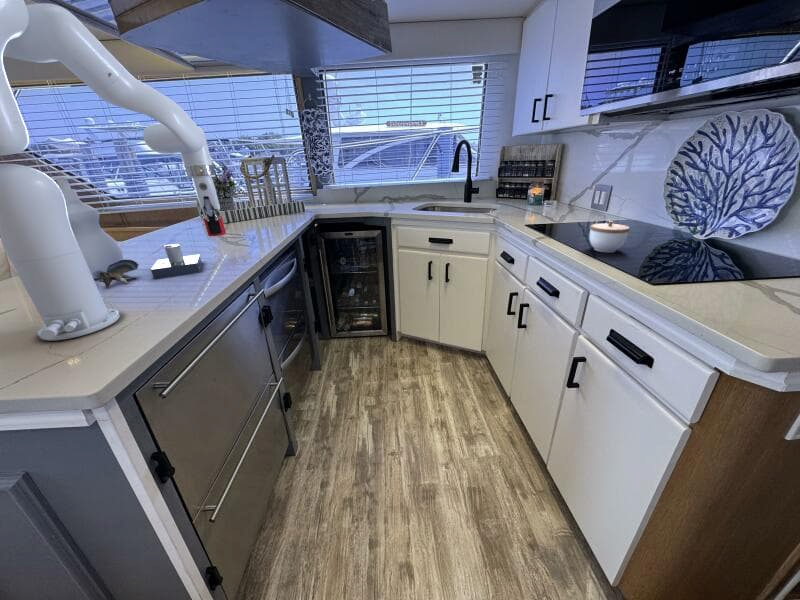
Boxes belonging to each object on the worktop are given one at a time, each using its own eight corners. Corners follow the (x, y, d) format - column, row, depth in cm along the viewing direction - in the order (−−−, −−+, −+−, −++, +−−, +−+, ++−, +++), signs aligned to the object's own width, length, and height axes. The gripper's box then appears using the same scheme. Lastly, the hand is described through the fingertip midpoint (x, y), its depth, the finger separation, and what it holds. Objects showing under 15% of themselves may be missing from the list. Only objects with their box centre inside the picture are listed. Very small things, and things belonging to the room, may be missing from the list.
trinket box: (631, 253, 100) (639, 223, 97) (596, 254, 101) (603, 224, 97) (611, 245, 110) (618, 217, 106) (580, 246, 111) (585, 219, 107)
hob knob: (184, 258, 104) (179, 242, 102) (183, 261, 101) (177, 245, 99) (170, 260, 103) (165, 244, 101) (168, 263, 99) (162, 247, 97)
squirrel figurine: (123, 284, 89) (146, 268, 96) (97, 265, 86) (124, 250, 93) (110, 297, 91) (134, 281, 99) (85, 279, 88) (112, 263, 96)
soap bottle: (99, 283, 94) (53, 176, 83) (59, 285, 94) (6, 178, 82) (139, 266, 110) (104, 174, 98) (104, 267, 109) (65, 175, 98)
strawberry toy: (226, 234, 103) (221, 215, 101) (207, 237, 101) (202, 217, 99) (226, 232, 108) (221, 213, 105) (208, 234, 106) (203, 215, 103)
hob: (199, 272, 100) (196, 262, 99) (154, 279, 96) (150, 269, 94) (202, 262, 110) (199, 253, 109) (160, 268, 106) (157, 259, 104)
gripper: (213, 171, 91) (229, 235, 99) (214, 171, 105) (229, 226, 113) (182, 173, 88) (201, 238, 96) (188, 172, 102) (204, 229, 110)
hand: (216, 231), depth 104 cm, fingers closed on strawberry toy, 5 cm apart
